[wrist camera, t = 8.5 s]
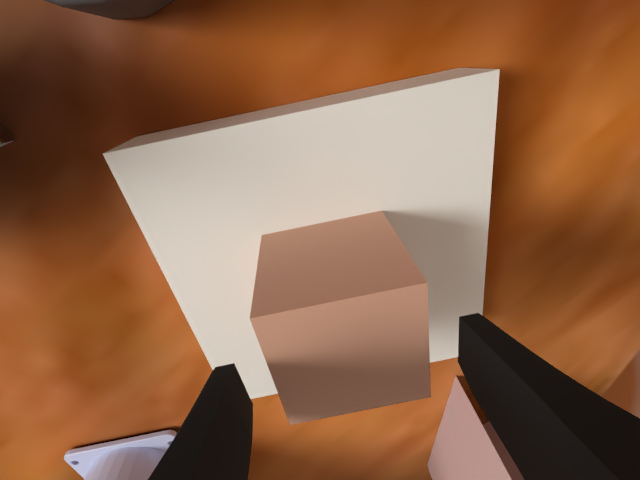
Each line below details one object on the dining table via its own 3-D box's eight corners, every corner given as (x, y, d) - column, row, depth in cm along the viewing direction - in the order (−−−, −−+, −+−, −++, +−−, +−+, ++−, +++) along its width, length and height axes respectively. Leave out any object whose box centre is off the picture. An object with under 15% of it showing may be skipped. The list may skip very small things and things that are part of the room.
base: (455, 315, 21) (479, 352, 18) (236, 360, 21) (229, 403, 18) (459, 67, 14) (499, 69, 11) (136, 136, 14) (102, 153, 12)
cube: (391, 304, 16) (430, 396, 12) (289, 324, 16) (289, 424, 12) (381, 210, 13) (427, 282, 9) (261, 235, 14) (249, 318, 9)
